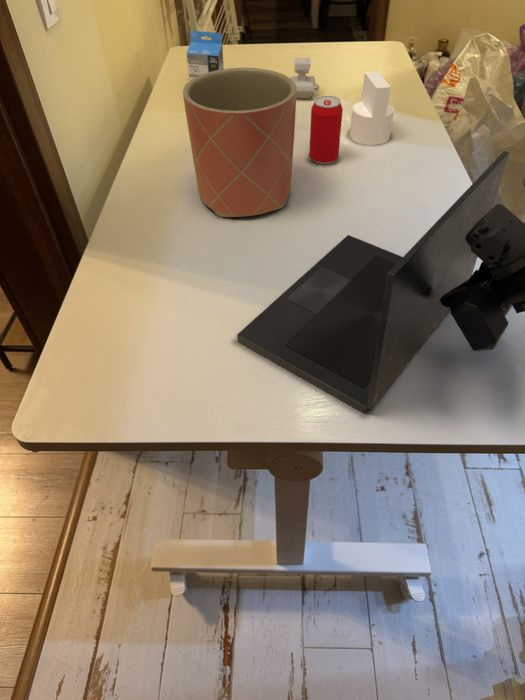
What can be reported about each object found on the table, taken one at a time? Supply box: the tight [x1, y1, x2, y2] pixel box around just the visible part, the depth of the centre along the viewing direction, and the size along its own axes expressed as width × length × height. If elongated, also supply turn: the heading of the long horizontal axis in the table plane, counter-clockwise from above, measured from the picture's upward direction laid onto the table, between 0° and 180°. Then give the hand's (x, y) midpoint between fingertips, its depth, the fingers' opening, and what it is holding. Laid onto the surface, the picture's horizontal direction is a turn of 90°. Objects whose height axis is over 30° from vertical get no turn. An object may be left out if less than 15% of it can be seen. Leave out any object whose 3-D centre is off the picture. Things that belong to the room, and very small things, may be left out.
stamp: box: [289, 57, 320, 99], centre depth 130 cm, size 9×7×8 cm
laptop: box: [236, 234, 404, 414], centre depth 77 cm, size 21×30×2 cm
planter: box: [182, 67, 297, 218], centre depth 94 cm, size 19×19×20 cm
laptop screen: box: [367, 150, 510, 410], centre depth 65 cm, size 21×30×1 cm
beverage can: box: [308, 95, 344, 165], centre depth 106 cm, size 6×6×12 cm
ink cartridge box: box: [186, 30, 225, 82], centre depth 134 cm, size 9×4×12 cm, turn 73°
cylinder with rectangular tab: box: [349, 71, 395, 146], centre depth 113 cm, size 9×9×12 cm
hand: (442, 301), depth 66 cm, fingers closed
